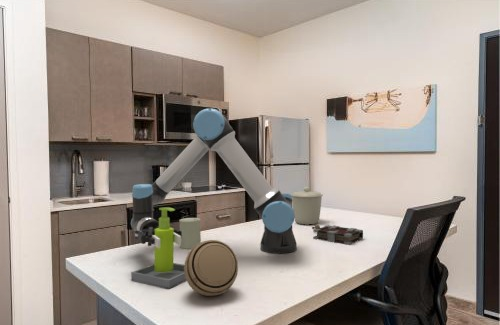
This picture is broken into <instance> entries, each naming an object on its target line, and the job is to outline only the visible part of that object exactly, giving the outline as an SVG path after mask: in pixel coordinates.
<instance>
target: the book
mask: <svg viewBox="0 0 500 325" xmlns="http://www.w3.org/2000/svg"><path fill="white" fill-rule="evenodd" d="M311 229H312V231H313V232H314V233H316V235H314V236H313V238H312V239H313V240H317V239H319V240H320V241H321V240H322V241H327V242H328V243H333V242H334V243H333V244H335V243H339V244H344V245H346V246H351V245H352V244H353V243H355V242H358V241H359V242H360V241H362V240H363V238H364V230H363V229H358V228H354V227H341V226H340V225H324V226H323V227H321V226H320V224H313V226H312V227H311Z"/></svg>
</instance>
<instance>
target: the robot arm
mask: <svg viewBox="0 0 500 325" xmlns="http://www.w3.org/2000/svg"><path fill="white" fill-rule="evenodd" d="M192 126H193V130H194V133H195V134H194V135H195V137H194V138H193V140H192V141H191V142H190V143H189V144H188V145H187V146H186V147H185V148H184V149H183V151H181V153H179V155H178V156H177V157H175V159H174V160H173V161H172V162H171V163H170V164H169V166H168V167H167V168H166V169H165V170H164V171H163V172H162V173H161V174H160V175H159V177H158V178H156V180H155V181H154V182H152V184H151V183H139V184H134V185H133V186H132V192H131V196H132V218H131V221H130V225H131V229H132V231H134V239H137V240H138V241H139V242H140V243H141V245H145V244H147V246H148V247H150V246H152V245H153V246H154V247H155V246H156V247H157V248H160V239H159V238H158V237H157V236H155V229H156V228H159V220H157V219H154V206H155V205H158V204H161V203H162V202H163V201H165V200H166V197H167V196H168V194H169V193H170V192H171V191H172V190H173V189H174V188H175V187H176V186H177V184H178V183H179V182H180V181H181V180H182V179H183V178H184V177H185V176H186V175H187V174H188V173H189V172H190V171H191V169H193V168H194V166H195V165H196V164H197V163H198V162H199V161H200V160H201V159H202V158H203V157H204V156H205V154H206V153H207V152H209V151H213V152H216V153H217V154H218V156H219V157H220V158H221V160H222V161H223V163H224V164H225V165H226V166H227V168H228V169H229V170H230V171H231V173H232V174H233V175H234V177H235V178H236V179H237V181H238V182H239V184H240V185H241V186H242V187H243V189H244V190H245V191H246V192H247V194H248V195H249V197H250V198H251V199H252V201H253V202H254V205H253V206H254V207H253V209H254V210H255V212H256V213H257V214H258V216H259V217H260V219H261V220H262V223H263V226H264V227H263V230H264V231H263V233H262V237H261V240H260V244H259V245H260V246H259V247H260V250H261V251H263V252H266V253H270V254H286V253H287V254H288V253H293V252H295V251H296V250H297V249H298V248H297V246H298V243H297V241H296V238H295V234H294V232H293V224H294V222H295V213H294V210H293V202H292V195H291V194H292V193H282V192H281V190H279V188H273V187H272V185H271V184H270V182H268V180H267V178H265V177H264V175H263V173H262V172H261V171H260V170H259V168H258V167H257V166H256V164H255V163H254V161H252V159H251V158H250V157H249V155H248V153H247V152H246V150H244V149H243V147H242V145H240V143H239V142H238V141H237V139H236V137H235V135H236V130H234V129H233V127H232V126H231V125H230V122H229V121H228V119H227V117H226V116H225V115H224V114H223V113H222V112H221V111H219V110H218V109H215V108H205V109H202V110H200V111H199V112H198V113H197V114H196V115H195V117H194V119H193V123H192ZM170 227H171V228H173V229H174V244H176V245H178V246H180V245H181V239H182V231H180V229H177V228H175V227H174V226H170Z"/></svg>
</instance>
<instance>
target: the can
mask: <svg viewBox="0 0 500 325" xmlns="http://www.w3.org/2000/svg"><path fill="white" fill-rule="evenodd" d="M178 221H179V230H180V231H182V239H181V245H179V248H181V249H185V250H189V249H190V250H191V249H192V248H193V247H195V246H196V245H197V244H199V243H201V242H202V240H201V233H202V232H201V218H200V217H185V218H181V219H179V220H178Z"/></svg>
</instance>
